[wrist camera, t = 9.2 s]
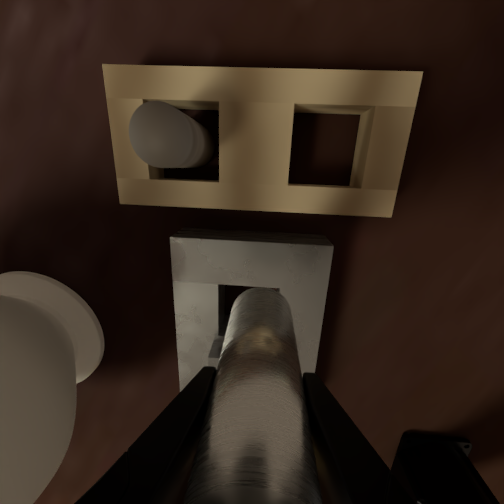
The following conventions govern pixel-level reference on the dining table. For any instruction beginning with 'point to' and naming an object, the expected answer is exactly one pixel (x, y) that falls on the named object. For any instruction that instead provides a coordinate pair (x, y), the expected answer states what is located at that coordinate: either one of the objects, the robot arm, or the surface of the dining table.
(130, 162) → the rack
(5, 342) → the decorative vase
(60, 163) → the dining table surface
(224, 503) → the grey rounded cylinder
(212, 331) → the socket
